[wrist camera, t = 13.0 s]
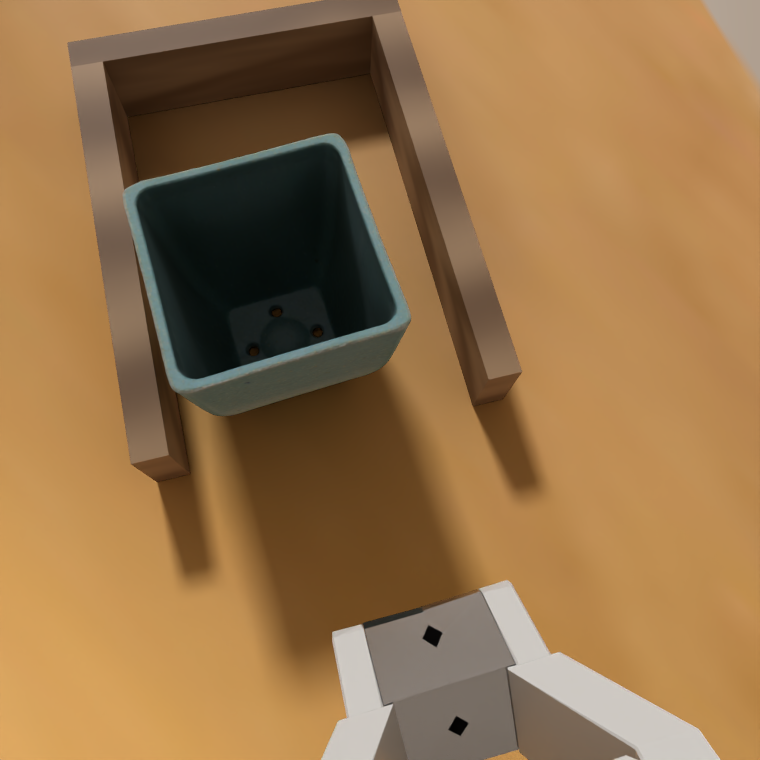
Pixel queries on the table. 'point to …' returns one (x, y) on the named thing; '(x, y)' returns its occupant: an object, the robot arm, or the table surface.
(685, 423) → the table surface
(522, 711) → the robot arm
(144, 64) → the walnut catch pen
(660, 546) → the table surface
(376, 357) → the flower pot
